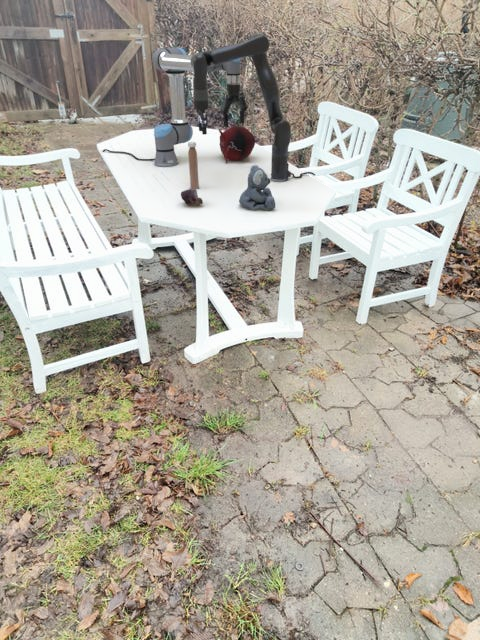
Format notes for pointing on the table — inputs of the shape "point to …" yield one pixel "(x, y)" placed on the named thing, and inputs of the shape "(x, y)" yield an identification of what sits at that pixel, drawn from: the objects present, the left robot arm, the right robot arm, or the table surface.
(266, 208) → the koala plush
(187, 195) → the rock
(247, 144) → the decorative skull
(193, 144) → the cap
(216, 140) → the table surface
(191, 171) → the bottle
